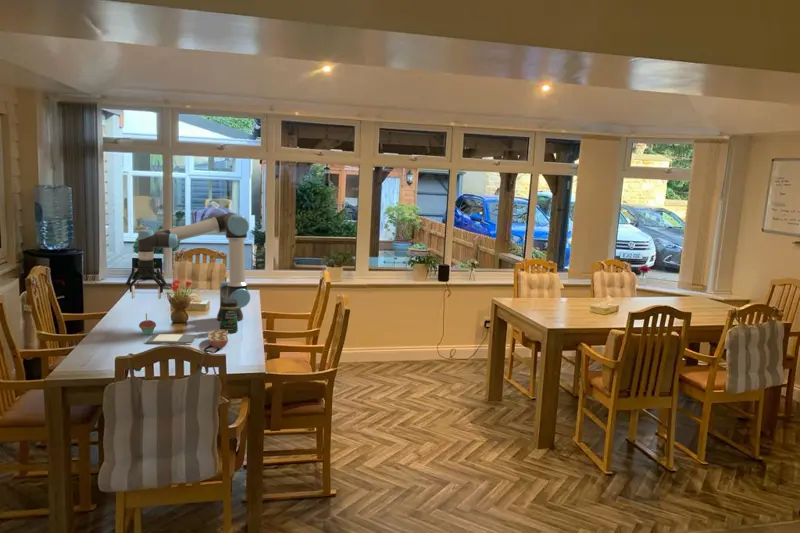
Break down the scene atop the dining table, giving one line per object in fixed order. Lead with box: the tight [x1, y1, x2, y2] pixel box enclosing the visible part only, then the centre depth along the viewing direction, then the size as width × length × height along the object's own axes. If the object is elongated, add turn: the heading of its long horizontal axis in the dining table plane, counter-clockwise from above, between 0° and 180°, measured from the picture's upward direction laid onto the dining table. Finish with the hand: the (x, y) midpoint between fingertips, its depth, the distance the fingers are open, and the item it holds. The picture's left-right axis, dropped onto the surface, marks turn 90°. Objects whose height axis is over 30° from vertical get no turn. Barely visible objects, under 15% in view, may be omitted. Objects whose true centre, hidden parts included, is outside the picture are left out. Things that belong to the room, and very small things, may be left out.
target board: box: [145, 333, 198, 345], centre depth 306 cm, size 22×14×2 cm, turn 97°
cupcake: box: [138, 313, 157, 335], centre depth 316 cm, size 9×8×12 cm
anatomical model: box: [207, 328, 229, 349], centre depth 303 cm, size 23×10×5 cm, turn 16°
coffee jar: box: [219, 299, 239, 334], centre depth 325 cm, size 10×8×19 cm
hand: (146, 298), depth 314 cm, fingers open, 13 cm apart
